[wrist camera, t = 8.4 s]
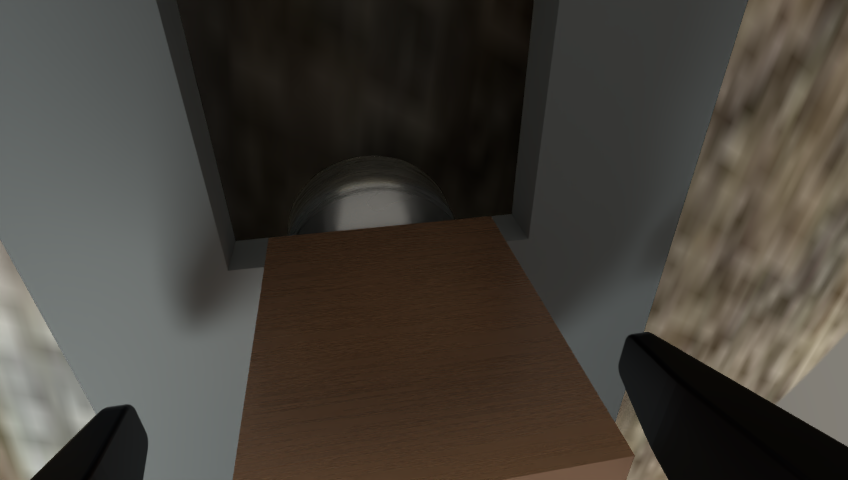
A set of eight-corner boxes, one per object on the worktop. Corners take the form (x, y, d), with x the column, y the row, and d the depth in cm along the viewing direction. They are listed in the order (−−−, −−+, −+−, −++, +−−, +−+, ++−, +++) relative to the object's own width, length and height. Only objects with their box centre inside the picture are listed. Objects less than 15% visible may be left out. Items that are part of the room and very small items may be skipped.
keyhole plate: (208, 369, 18) (167, 543, 13) (2, -244, 9) (-376, -447, 4) (528, 326, 20) (601, 464, 15) (608, -219, 11) (855, -339, 6)
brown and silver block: (301, 310, 15) (287, 717, 7) (273, 151, 12) (202, 533, 4) (448, 293, 15) (574, 647, 8) (452, 138, 13) (652, 453, 5)
